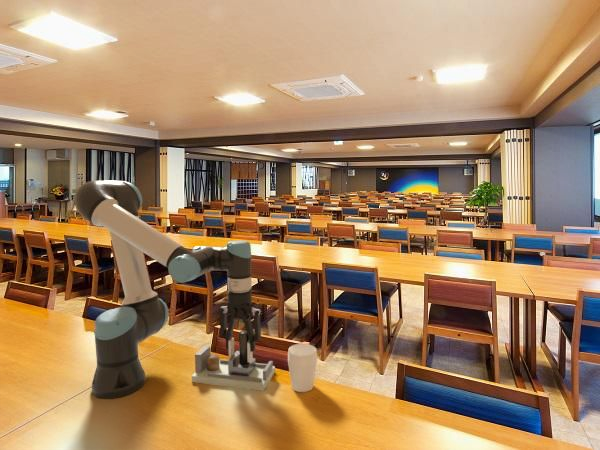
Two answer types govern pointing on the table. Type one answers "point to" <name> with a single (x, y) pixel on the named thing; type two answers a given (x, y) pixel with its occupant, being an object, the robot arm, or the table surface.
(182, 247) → the robot arm
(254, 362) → the handle
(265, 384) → the base
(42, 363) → the table surface
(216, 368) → the walnut
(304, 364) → the cup
